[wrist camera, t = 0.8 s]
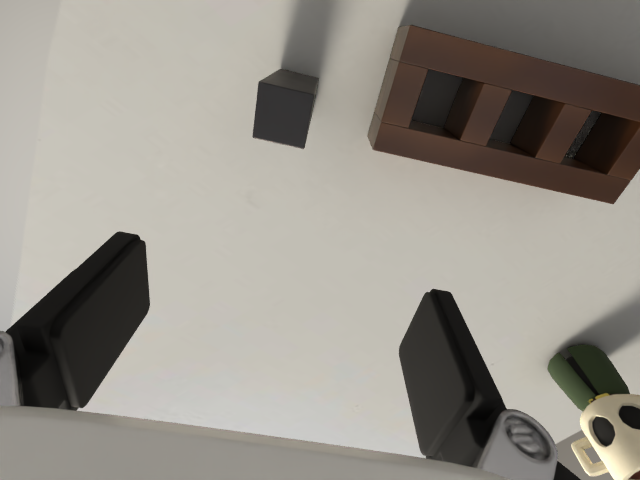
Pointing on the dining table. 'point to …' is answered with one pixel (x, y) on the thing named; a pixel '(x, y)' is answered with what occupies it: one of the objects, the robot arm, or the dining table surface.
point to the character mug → (601, 411)
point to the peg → (285, 108)
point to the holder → (487, 105)
